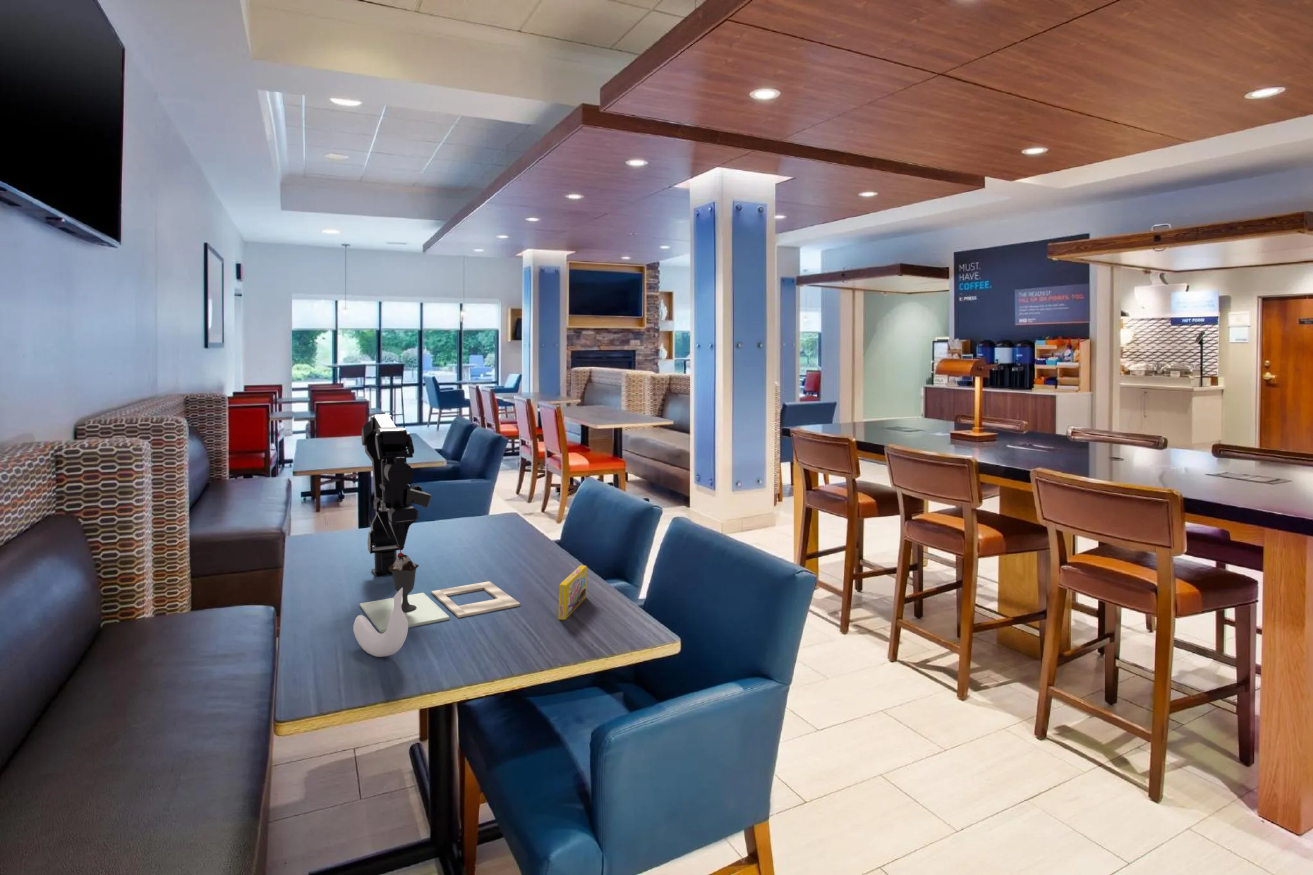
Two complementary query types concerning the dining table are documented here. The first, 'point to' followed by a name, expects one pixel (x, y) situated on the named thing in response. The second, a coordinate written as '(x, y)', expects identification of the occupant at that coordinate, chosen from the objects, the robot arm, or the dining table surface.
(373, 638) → the white curved piece
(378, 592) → the dining table surface
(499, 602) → the wooden picture frame
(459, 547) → the dining table surface
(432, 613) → the stub pad
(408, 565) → the sundae
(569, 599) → the candy box
